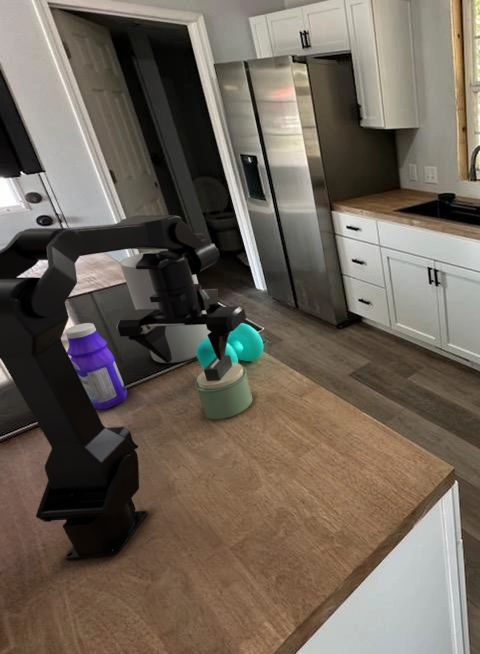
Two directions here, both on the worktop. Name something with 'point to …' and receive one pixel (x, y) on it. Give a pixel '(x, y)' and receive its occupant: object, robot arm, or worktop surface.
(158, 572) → the worktop surface
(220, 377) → the clip
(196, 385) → the green lidded jar
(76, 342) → the bottle
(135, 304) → the cylinder vase
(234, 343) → the cyan spool
